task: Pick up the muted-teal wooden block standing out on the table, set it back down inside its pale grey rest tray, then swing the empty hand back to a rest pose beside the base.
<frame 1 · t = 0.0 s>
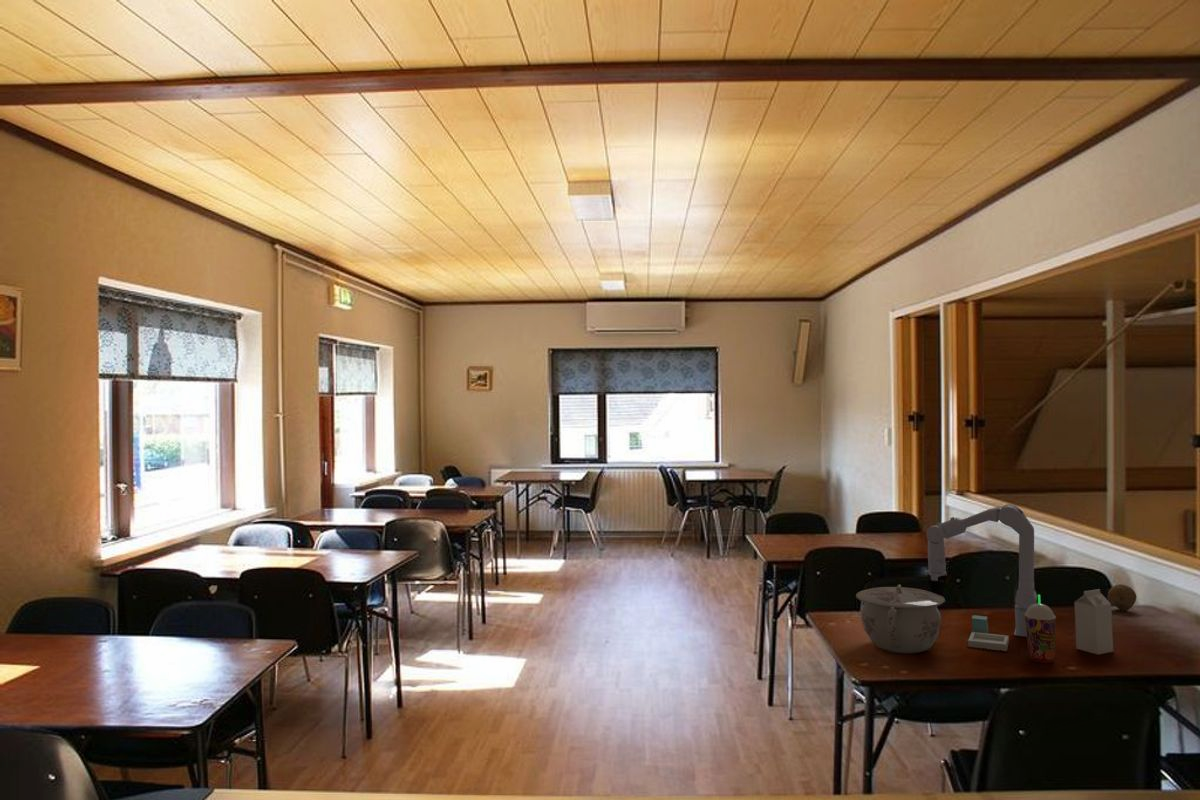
hand: (938, 597, 278), 10 cm above the table, tool pointing down, fingers open, 7 cm apart
block: (980, 635, 265), on the table
brown coconut: (1122, 611, 290), on the table
smoothie: (1041, 661, 236), on the table
tray: (988, 644, 253), on the table
milk carton: (1094, 651, 244), on the table
chamber pot: (900, 648, 252), on the table
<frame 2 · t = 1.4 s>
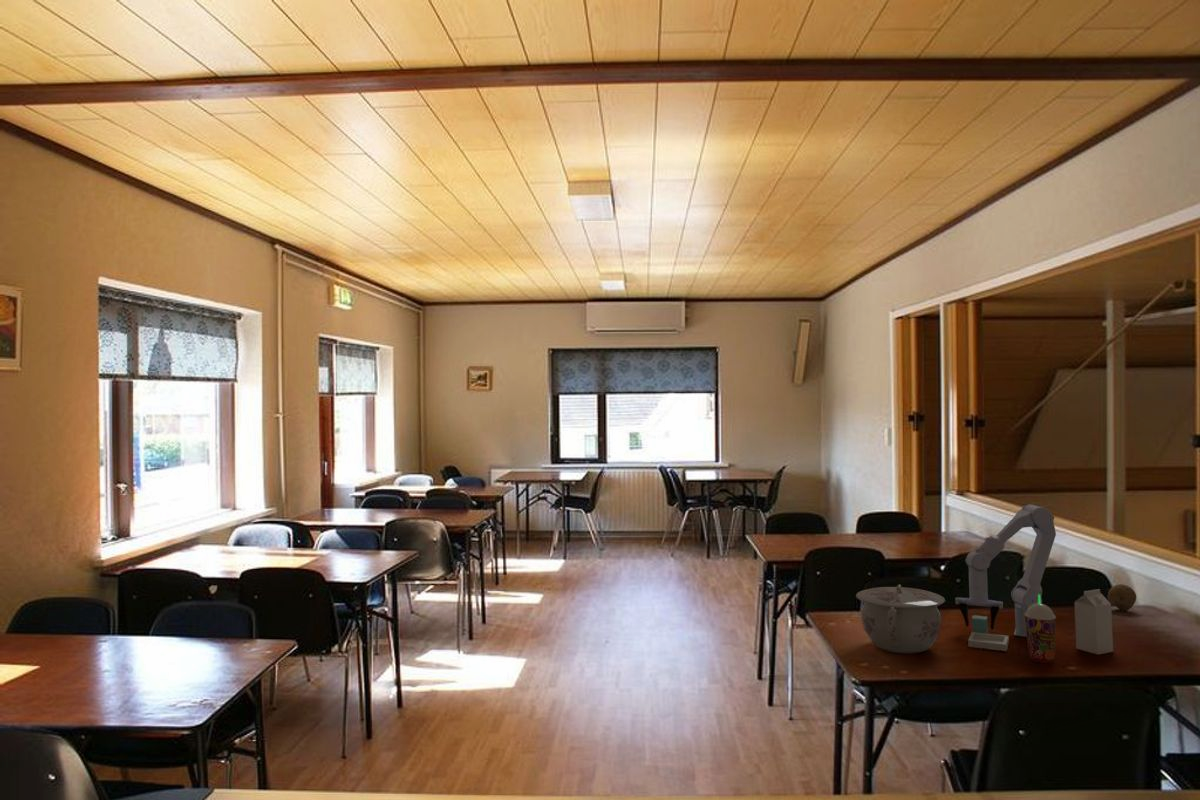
hand: (979, 627, 265), 3 cm above the table, tool pointing down, fingers open, 7 cm apart
nothing on the table moved.
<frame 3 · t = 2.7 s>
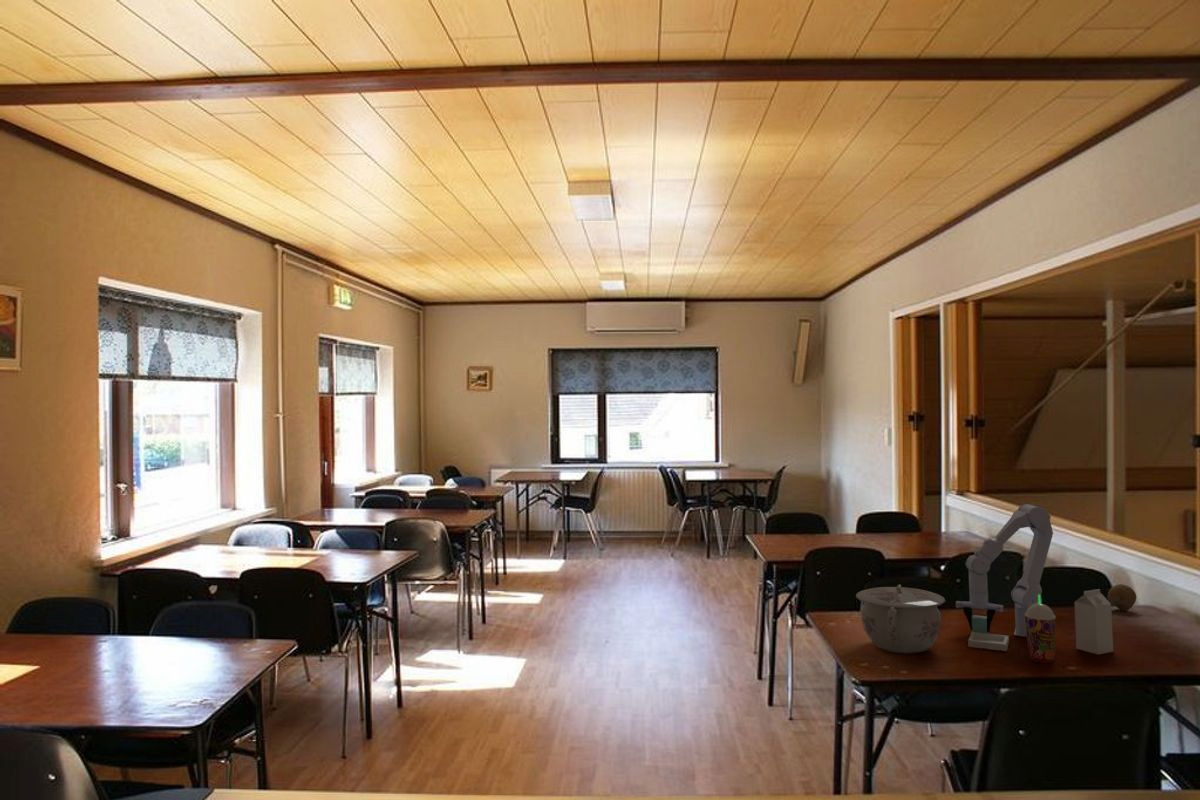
hand: (980, 630, 265), 1 cm above the table, tool pointing down, fingers closed on block, 4 cm apart
block: (980, 634, 265), on the table, touching gripper
everything else where it was.
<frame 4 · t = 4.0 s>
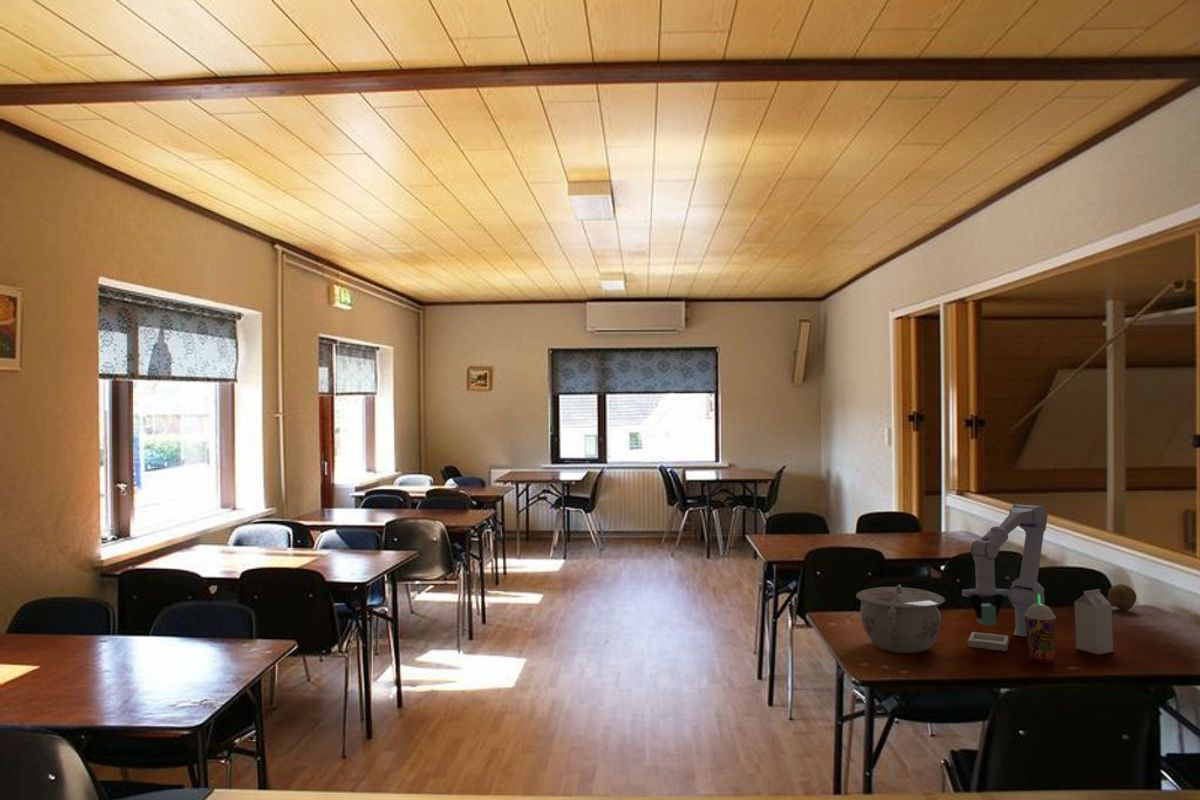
hand: (986, 618, 254), 8 cm above the table, tool pointing down, fingers closed on block, 4 cm apart
block: (986, 623, 255), point 7 cm above the table, touching gripper
everything else where it was.
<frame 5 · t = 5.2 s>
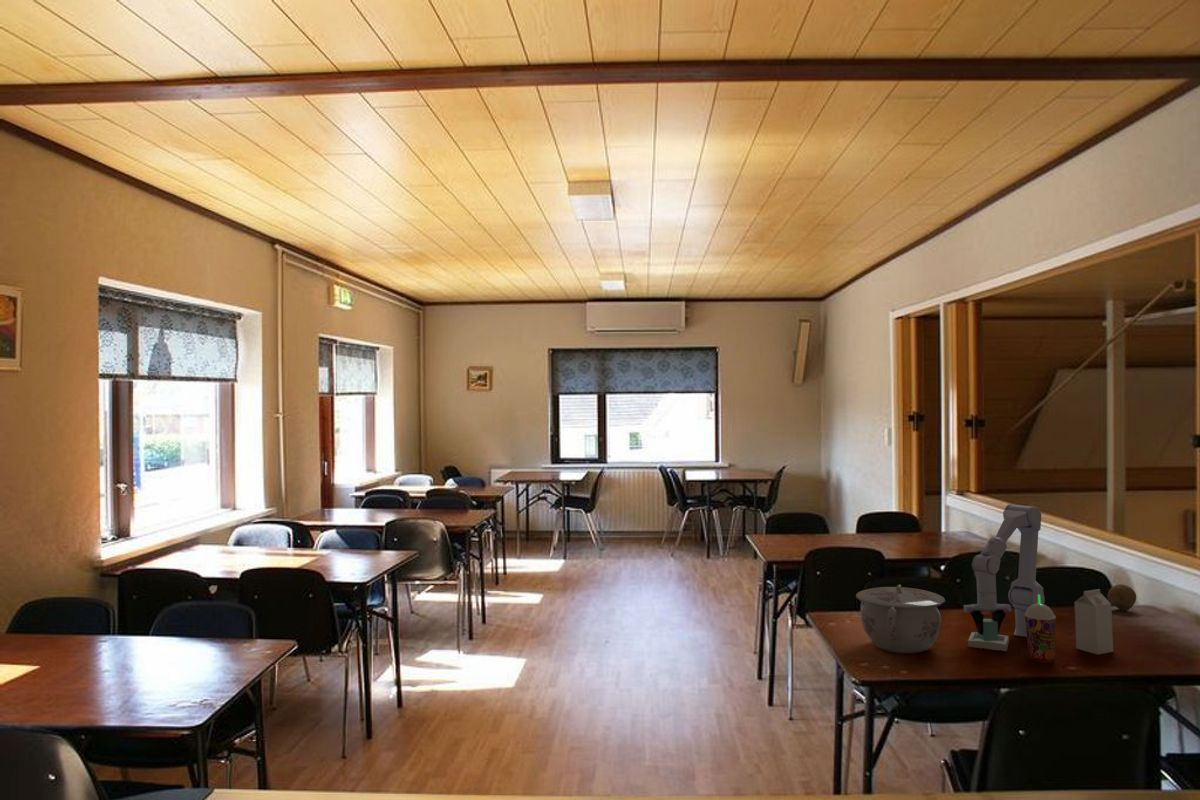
hand: (988, 633, 253), 4 cm above the table, tool pointing down, fingers closed on block, 4 cm apart
block: (988, 638, 254), point 2 cm above the table, touching gripper
everything else where it was.
when the fingers open (4 cm above the table, at t = 5.8 s): block drops 1 cm, resting on tray.
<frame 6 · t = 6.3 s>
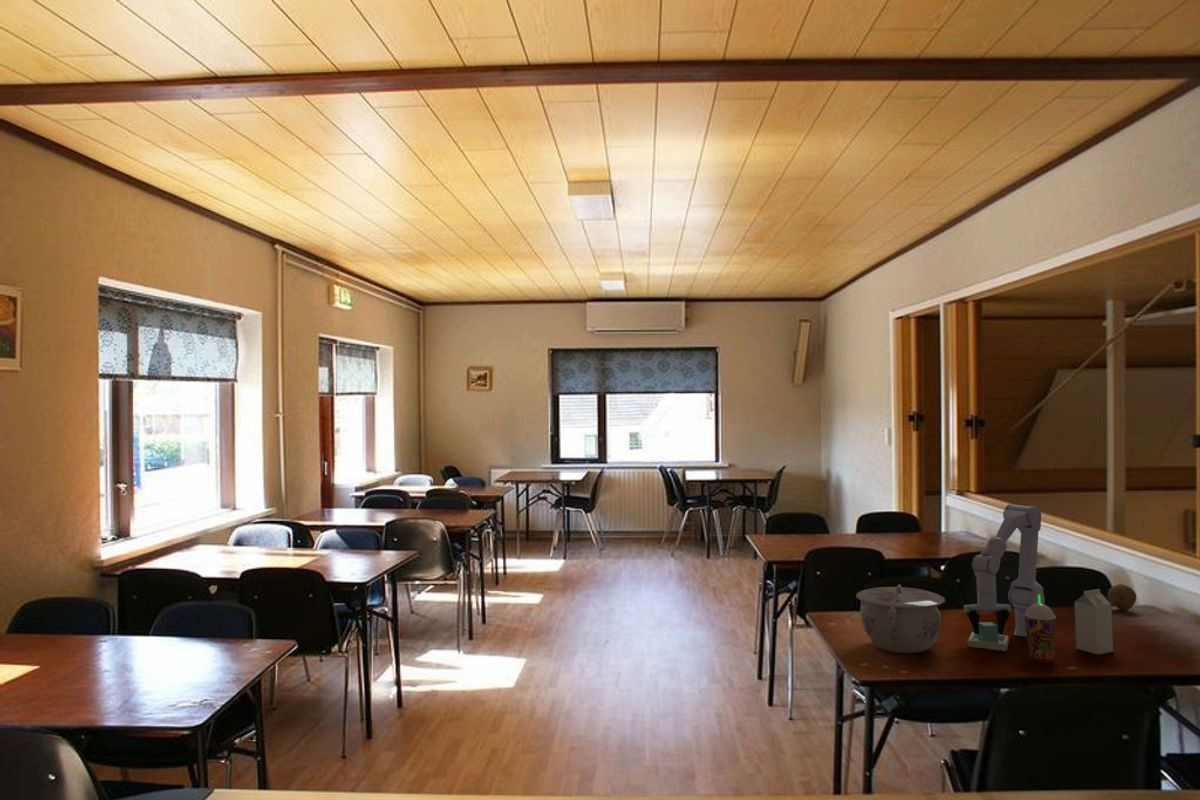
hand: (988, 633, 253), 4 cm above the table, tool pointing down, fingers open, 7 cm apart
block: (988, 642, 254), point 1 cm above the table, touching tray
everything else where it was.
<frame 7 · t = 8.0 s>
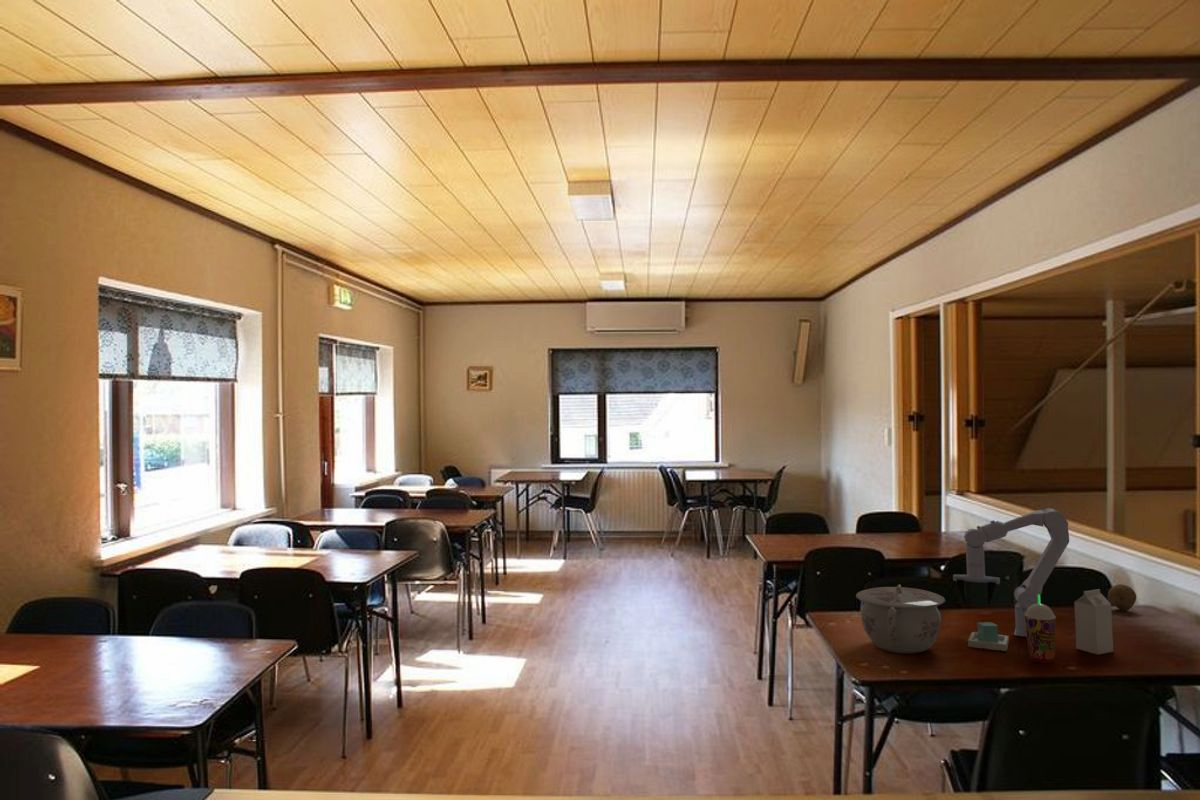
hand: (977, 602, 269), 10 cm above the table, tool pointing down, fingers open, 7 cm apart
nothing on the table moved.
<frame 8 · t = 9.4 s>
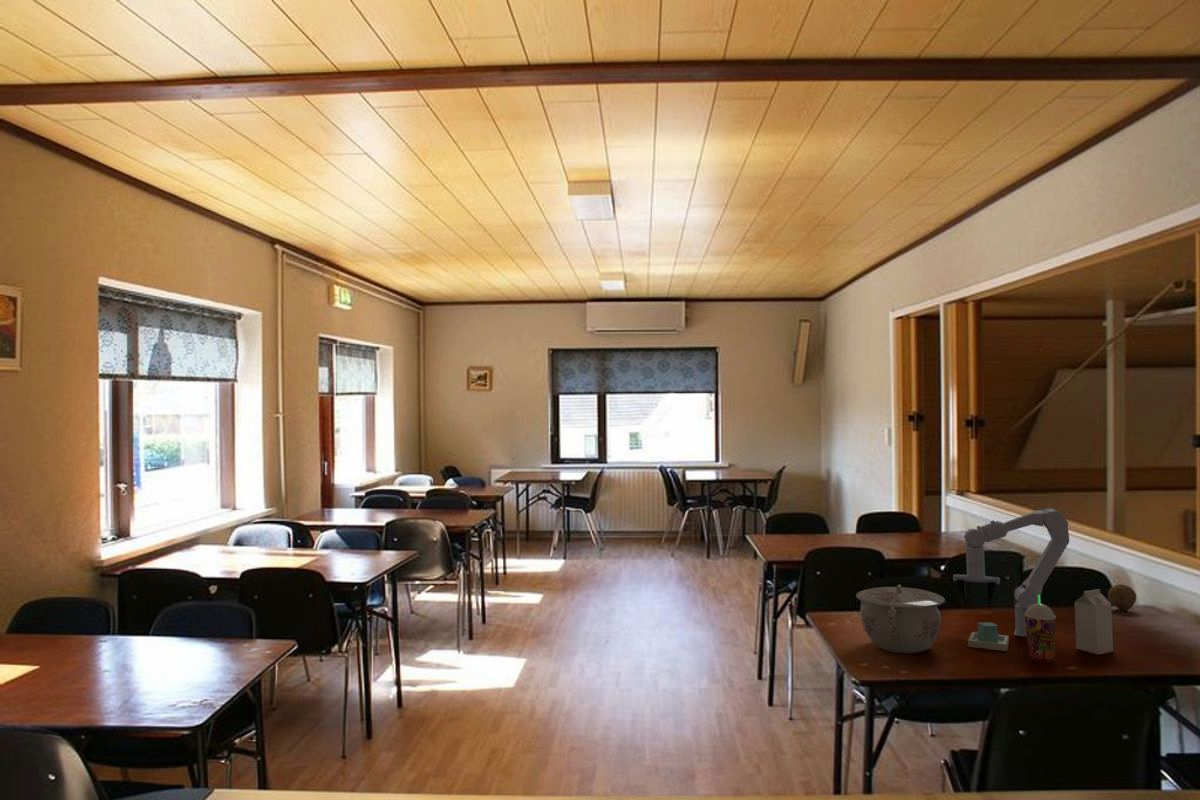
hand: (977, 602, 269), 10 cm above the table, tool pointing down, fingers open, 7 cm apart
nothing on the table moved.
at the end: block inside the target area on the tray (0.3 cm from its centre), point 0.6 cm above the tray's base; block tilted 0°; the gripper is holding nothing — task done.
